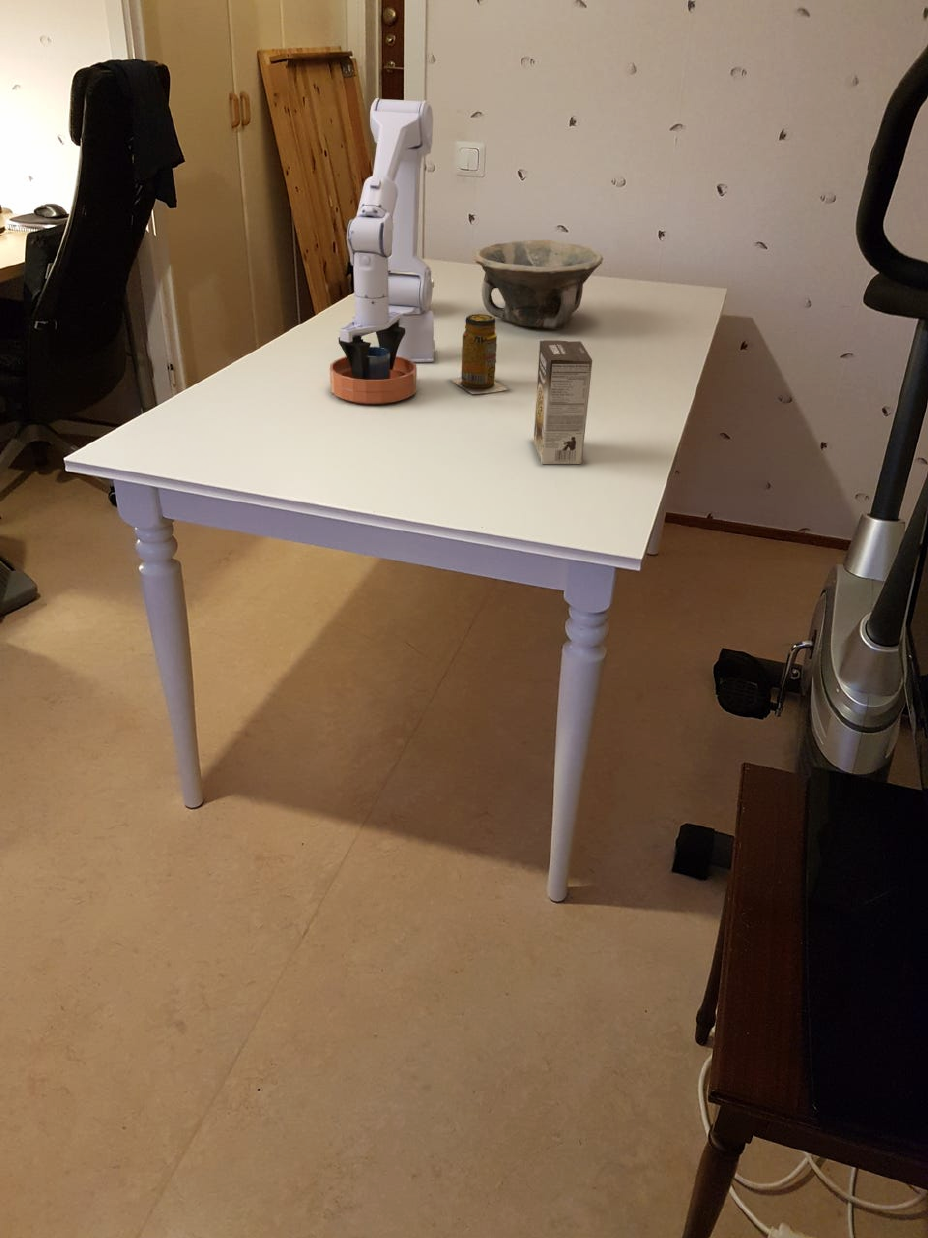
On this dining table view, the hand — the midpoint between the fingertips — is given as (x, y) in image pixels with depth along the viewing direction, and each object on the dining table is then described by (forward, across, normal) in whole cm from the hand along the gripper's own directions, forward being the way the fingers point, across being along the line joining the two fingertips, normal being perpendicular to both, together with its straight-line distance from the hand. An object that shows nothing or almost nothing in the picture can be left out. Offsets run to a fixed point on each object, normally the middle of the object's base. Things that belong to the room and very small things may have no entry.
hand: (373, 373), depth 164 cm
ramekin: (+3, -45, -29) cm, 54 cm away
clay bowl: (+3, 0, 0) cm, 3 cm away
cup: (+3, 0, 0) cm, 3 cm away
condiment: (+3, -14, +13) cm, 20 cm away
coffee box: (+3, +4, +40) cm, 40 cm away
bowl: (+3, -56, -2) cm, 56 cm away
